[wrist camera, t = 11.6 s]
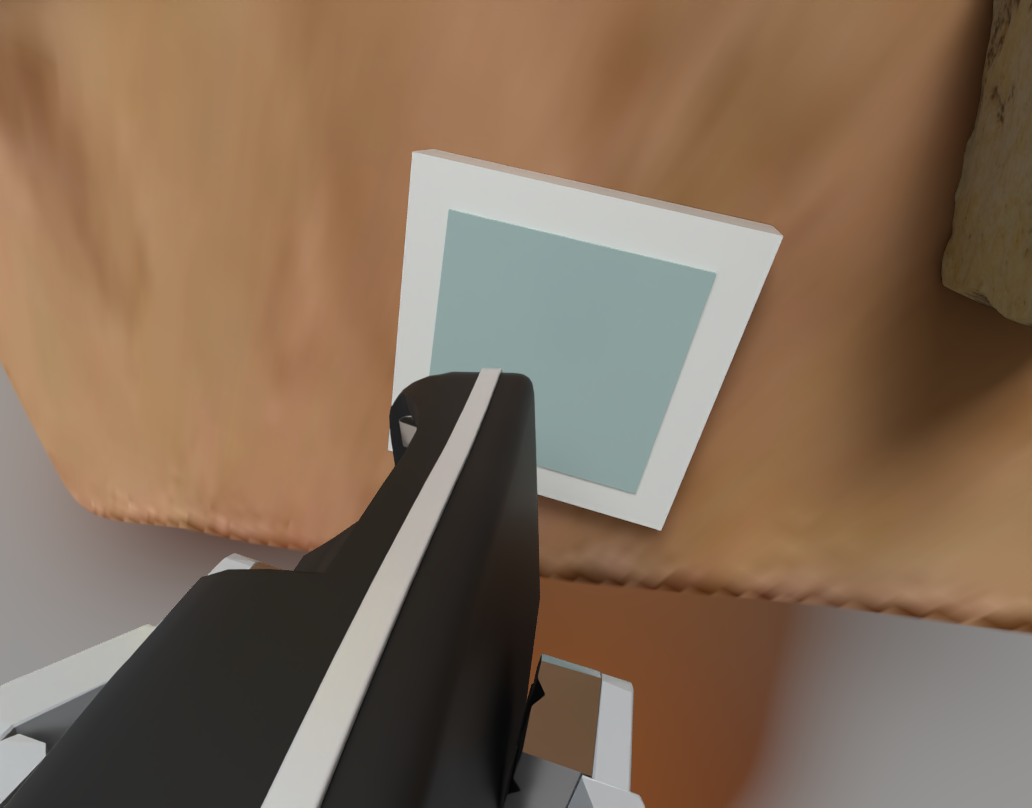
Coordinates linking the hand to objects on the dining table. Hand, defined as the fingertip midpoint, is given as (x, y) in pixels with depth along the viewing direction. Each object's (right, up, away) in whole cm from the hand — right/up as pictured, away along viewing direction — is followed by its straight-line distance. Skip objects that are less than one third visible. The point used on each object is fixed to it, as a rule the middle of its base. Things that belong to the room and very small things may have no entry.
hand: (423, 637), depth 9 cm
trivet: (+3, +6, +13) cm, 15 cm away
